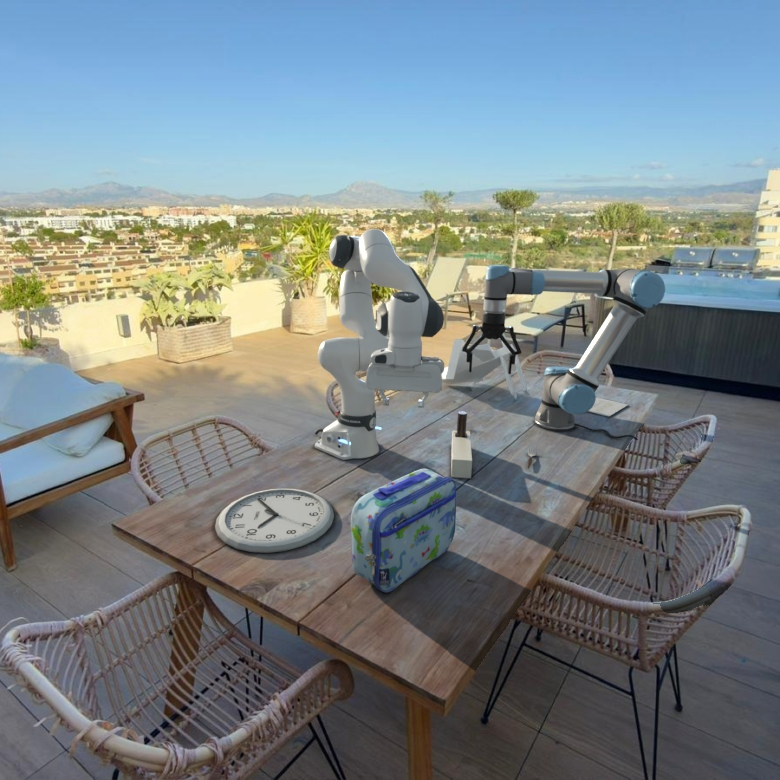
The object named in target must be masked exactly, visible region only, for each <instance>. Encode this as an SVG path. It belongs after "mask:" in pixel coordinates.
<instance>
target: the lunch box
mask: <svg viewBox="0 0 780 780" xmlns="http://www.w3.org/2000/svg"><path fill="white" fill-rule="evenodd" d="M456 517H457V485H456V481H455V479H453V477H449V476H447V477H445V476H442V475H440V474H439V473H437V472H434V471H433V470H431V469H428V468H420V469H417V470H414V471H413V472H410V473H408V474H405V475H403V476H401V477H399V478H397V479H394V480H393V481H390V482H388V483H387V484H383V485H382V486H380V487H377V488H376V489H374V490H372V491H370V492H368V493H366V494H364V495H362V496H361V497H359V499H357V501H356V502H355V504H354V505H353V507H352V510H351V514H350V538H351V539H350V540H351V564H352V570H353V572H354V574H355V575H356V576H358V577H359V578H362V579H364V580H366V581H368V582H369V583H370V584H372V585H374V586H375V587H376V589H377V590H379V591H381V592H383V593H391V592H392V591H394V590H395V589H397V588H398V587H400V586H401V584H403V583H404V582H406V581H407V580H408V579H410V578H411V577H412V576H414V575H415V574H417V573H418V572H419V571H421V570H423V568H425V566H426V565H428V564H429V563H431V562H432V561H434V560H435V559H437V558H440V556H442V555H443V554H445V553H446V552H447V550H448V549H449V548H450V546H451V545H452V542H453V540H454V537H455V532H456V522H457V521H456V519H457V518H456Z"/></svg>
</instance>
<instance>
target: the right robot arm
mask: <svg viewBox="0 0 780 780" xmlns="http://www.w3.org/2000/svg"><path fill="white" fill-rule="evenodd" d="M543 292H548V293H549V292H552V293H555V292H556V293H575V294H595V295H597V296H598V297H602V298H610V299H611V303H612V309H611V310H610V311H609V313H608V314H607V316H606V318H605V319H604V321H603V323H602V324H601V326H600V328H599V329H598V331H597V333H595V336H594V337H593V339H592V340H591V342H590V344H589V345H588V347H587V348H586V350H585V351H584V353H583V355H582V356H581V358H580V359H579V361H578V362H577V364H576V366H575V367H570V366H548V367H546V368H545V370H544V373H543V381H542V382H543V383H542V394H541V402H540V405H539V407H538V410H537V411H536V413H535V417H534V424H535V425H536V426H537V427H539V428H542V429H544V430H549V431H556V432H567V431H572V430H574V429H575V428H576V427H579V428H582V429H584V430H588V431H591V432H604V433H606V435H607V436H608V437H609V438H611V439H612V438H613V439H623V438H632V439H634V440H635V441H638V440H639V439H638V438H637V437H636V436H635V435H632V434H623V435H612V434H611V433H610V432H609V431H608V430H607V429H603V428H590V427H588V426H584V425H582V424H578V423H576V418H575V417H576V416H577V415H578V416H579V415H582V414H586V413H588V411H589V410H590V409H591V408H592V407H593V405H594V403H595V400H596V391H597V389H598V388H599V386H600V382H599V378H600V377H601V375H602V374H603V372H604V370H605V369H606V367H607V366H608V364H609V363H610V361H611V360H612V358H613V356H614V355H615V353H616V352H617V350H618V349H619V347H620V345H621V344H622V342H623V341H624V339H625V337H626V336H627V335H628V333H629V332H630V330H631V329H632V327H633V325H634V324H635V322H636V320H638V319H640V318H643V317H645V315H646V314H647V312H648V311H649V309H651V308H654V307H656V306H658V305H659V304H660V303H661V302H662V301H663V299H664V297H665V295H666V285H665V282H664V279H663V278H662V277H661V276H660V275H659V274H657V273H655V272H653V271H650V270H646V269H637V268H619V269H617V268H616V269H601V270H599V271H579V270H578V271H577V270H555V269H553V270H551V269H550V270H549V269H529V268H528V269H527V268H518V267H512V268H510V266H509V265H504V264H490V265H488V266H486V270H485V278H484V296H483V307H482V308H483V312H482V319H481V320H482V321H481V325H476V324H473V325H472V330H471V332H470V333H469V336H468V337H467V338H466V340H465V341H464V342H465V344H464V345H463V347H462V351H463V352H466V353H467V359H466V361H467V362H470V363H469V372H471V370H472V355H473V354H472V351H473V350H474V349H475V348H476V347H477V346H478V345H481V343H482V342H483V341H484V340H485V339H487V340H499V339H500V341H501V340H502V341H501V343H502V342H503V343H504V344H505V346H506V347H507V348H508V349H509V351H510V352H511V353H512V354H509V360H508V364H507V365H508V374H510V375H511V374H512V368H513V367H512V365H515V357H516V355H521V354H522V350H521V347H520V345H519V342H518V341H517V337H516V335H515V329H514V328H515V327H514V326H513V325H510V326H505V325H506V313H505V312H507V299H508V295H523V296H524V295H525V296H537V295H538V296H539V295H541V294H542V293H543ZM479 331H481V335H479V337H478V338H477V339H476V340H475V341H474V342H473V343H472V344H471V342H472V341H473V339H474V337H475V335H476V333H478V332H479ZM505 332H507V333H508V334H509V335H510V337H511V341H512V342H513V343H512V344H513V346H514V348H515V349H516V350H515V351H514V350H513V348H512V347H511V346H510V343H509V341H508V340H507V338H506V339H505V338H504V336H503V335H502V334H503V333H504V334H505ZM469 345H470V346H469ZM468 346H469V348H468V349H467V347H468Z"/></svg>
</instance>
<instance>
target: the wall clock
mask: <svg viewBox="0 0 780 780" xmlns="http://www.w3.org/2000/svg"><path fill="white" fill-rule="evenodd" d="M334 518H335V514H334V509H333V507H332V506H331V504H330V503H329V502H328V501H327V499H325V498H323V497H321V496H320V495H318V494H316V493H313V492H311V491H307V490H304V489H296V488H270V489H265V490H260V491H256V492H252V493H250V494H246V495H244V496H242V497H240V498H238V499H236V500H234V501H232V502H231V503H229V504H228V505H227V506H226V507H224V508H223V509H222V510H221V511H220V513H219V515H218V516H217V518H216V520H215V525H214V529H215V532H216V535H217V538H218V539H220V540H221V541H222V542H223V543H224V544H226V545H228V546H230V547H232V548H234V549H236V550H240V551H245V552H248V553H249V552H250V553H261V554H262V553H265V554H270V553H277V552H287V551H290V550H293V549H298V548H301V547H304V546H306V545H308V544H311V543H312V542H314V541H316V540H317V539H319V538H321V537H322V536H323V535H325V534H326V532H327V531H328V530H329V529H330V528H331V526H332V525H333V522H334Z"/></svg>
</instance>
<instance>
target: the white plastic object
mask: <svg viewBox="0 0 780 780" xmlns="http://www.w3.org/2000/svg"><path fill="white" fill-rule="evenodd" d="M502 335H503V336H504V338H505V339H506V340H507V337H506V334H505V332H504V333H503V334H502ZM465 342H466V341H465V340H464V339H463V338H460V339H458V338H454V340H453V344H452V349H451V353H450V357H449V362H448V366H446V367H444V372H443V373H442V383H443V384H444V385H445V386H449V385H458V384H467V383H468V384H469V383H473V384H477V383H480V382H482V381H484V378H485V377H486V376H487V375H489V374H490V373H492V372H494V371H495V370H496V369H497V368H499V367H500V366H502V370H503V373H504V376H505V380H506V383H507V386H508V390H509V393H510V394H511V395H512V397H513V398H514V399H515V400H517V392H516V391H517V390H516V388H515V385H514V381H513V378H512V375H511V374H508V365H509V364H508V362H509V354H512V353H511V352H510V351H509V349H508V348H507V347H506V346H505V344H504V343H503V342H502V340H501V339H500V342H501V345H502V347H500V348H498V349H496V350H495V349H493V348H492V347H491V346H490V344H489V343H488V342H487V343H483V344H479V345H478V346H477V347H476V348H475V349H474V350H473V351H472V354H473V355H472V370H471V372H469V363H470V362H467V361H466V359H467V353H466V352H463V351H462V347H463V345H464V344H465ZM509 344H510V343H509ZM510 346H511V347H512V348H513V350H514V351H515V350H516V347H515V345H514V344H513V343H511V344H510ZM469 347H470V346H469V345H468V347H467V349H468V348H469ZM514 366H515V369H516V372H517V376H518V380H519V382H520V385H521V389H522V391H523V393H524V395H525V396H526V397H528V396H531V395H530V390H529V388H528V387H529V386H528V384H527V381H526V378H525V375H524V371H523V369H522V368H523V367H522V366H521V362H520V359H519V354H517V355H516V357H515V364H514Z"/></svg>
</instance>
